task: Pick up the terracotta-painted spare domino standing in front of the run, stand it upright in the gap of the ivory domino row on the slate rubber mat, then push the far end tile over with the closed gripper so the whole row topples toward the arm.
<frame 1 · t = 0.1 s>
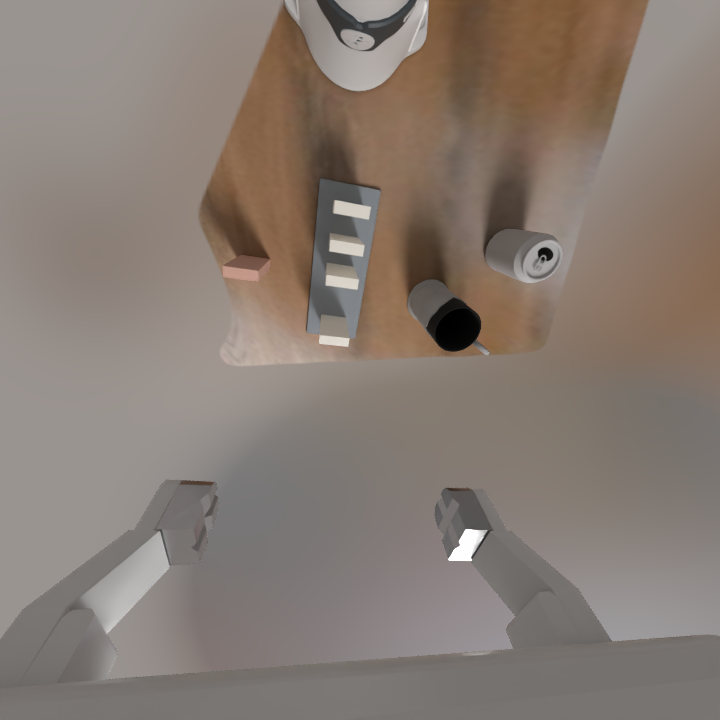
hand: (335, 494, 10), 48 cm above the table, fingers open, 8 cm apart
domino 1: (347, 208, 48), resting on mat
mat: (339, 268, 53), on the table
grey mug: (437, 308, 59), on the table
domino 3: (339, 269, 53), resting on mat
domino 5: (333, 319, 57), resting on mat
can: (501, 249, 54), on the table
domino 2: (343, 240, 50), resting on mat
spare domino: (255, 261, 51), on the table
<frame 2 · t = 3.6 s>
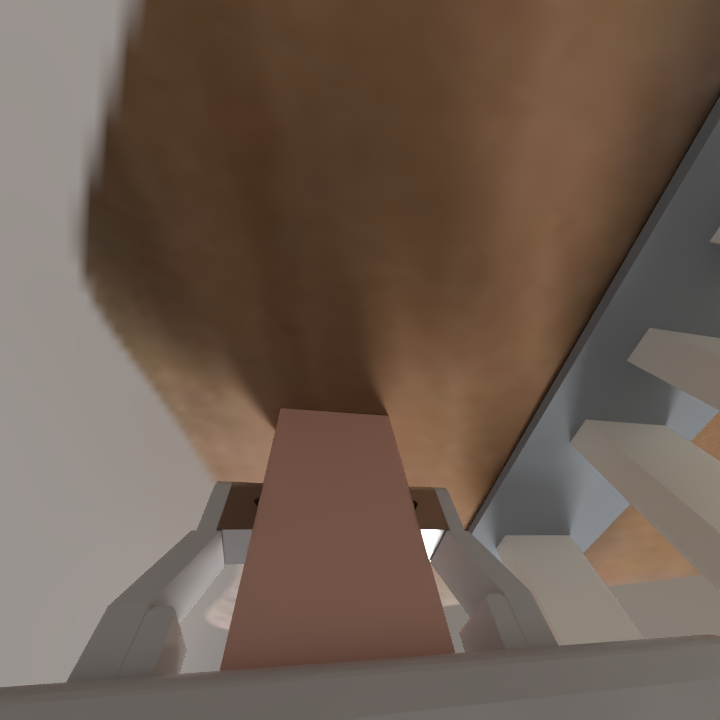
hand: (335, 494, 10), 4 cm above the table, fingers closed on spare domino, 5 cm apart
mat: (611, 428, 15), on the table
domino 3: (617, 434, 15), resting on mat
domino 5: (533, 541, 20), resting on mat
domino 2: (683, 350, 13), resting on mat
spare domino: (334, 425, 13), on the table, touching gripper
when the fingers open (4 cm above the table, at t = 9.3 s): spare domino stays where it is, resting on mat.
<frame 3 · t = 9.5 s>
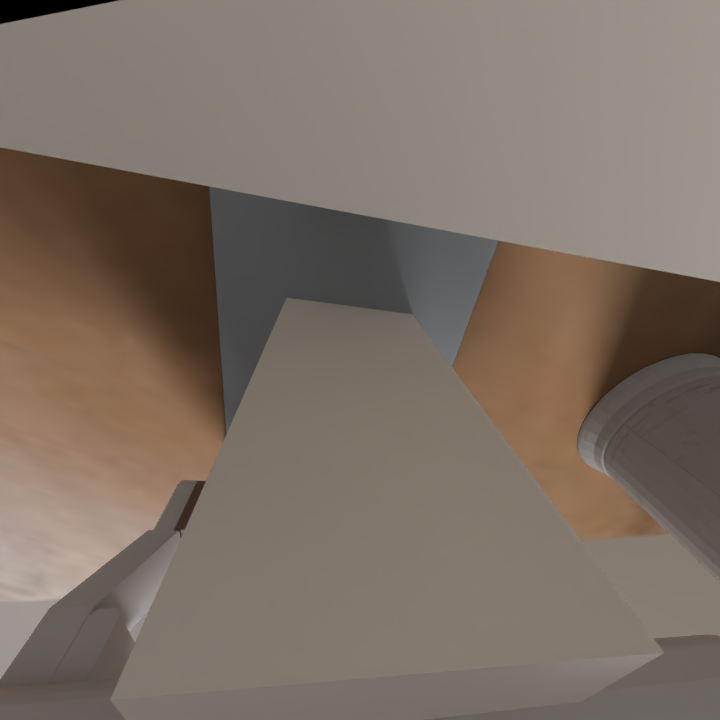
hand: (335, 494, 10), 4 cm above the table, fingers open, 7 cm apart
mat: (348, 321, 12), on the table
grey mug: (666, 435, 18), on the table
domino 3: (348, 325, 12), resting on mat
domino 2: (371, 182, 9), resting on mat
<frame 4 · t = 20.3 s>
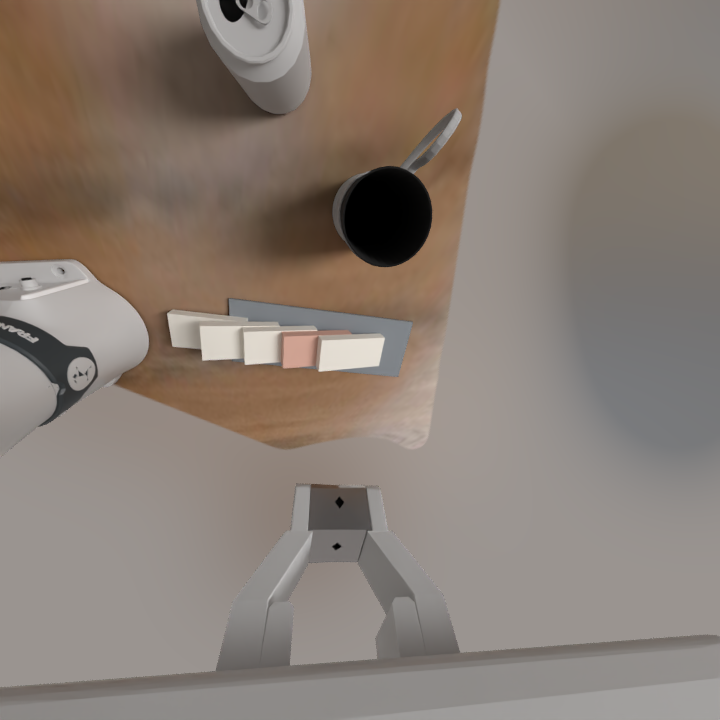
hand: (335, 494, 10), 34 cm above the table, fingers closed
domino 1: (246, 335, 42), point 1 cm above the table, tilted 90°, touching domino 2, mat
mat: (322, 340, 45), on the table
grey mug: (379, 194, 36), on the table
domino 3: (314, 342, 43), point 1 cm above the table, tilted 71°, touching domino 2, mat, spare domino
domino 5: (379, 349, 45), point 1 cm above the table, tilted 72°, touching mat, spare domino
can: (275, 70, 29), on the table
domino 2: (278, 339, 42), point 1 cm above the table, tilted 71°, touching domino 1, domino 3
spare domino: (348, 346, 44), point 1 cm above the table, tilted 72°, touching domino 3, domino 5, mat
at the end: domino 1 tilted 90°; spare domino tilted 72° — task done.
